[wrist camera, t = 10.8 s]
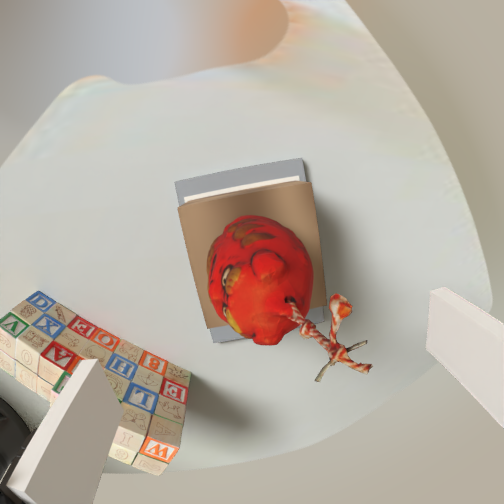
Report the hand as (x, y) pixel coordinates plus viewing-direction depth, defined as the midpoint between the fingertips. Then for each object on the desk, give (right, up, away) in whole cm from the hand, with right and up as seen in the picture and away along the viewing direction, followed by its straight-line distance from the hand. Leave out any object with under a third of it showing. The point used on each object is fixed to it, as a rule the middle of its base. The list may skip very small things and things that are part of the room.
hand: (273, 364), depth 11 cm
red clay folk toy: (0, +3, +13) cm, 13 cm away
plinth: (-1, +5, +19) cm, 19 cm away
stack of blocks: (-18, -8, +22) cm, 30 cm away
